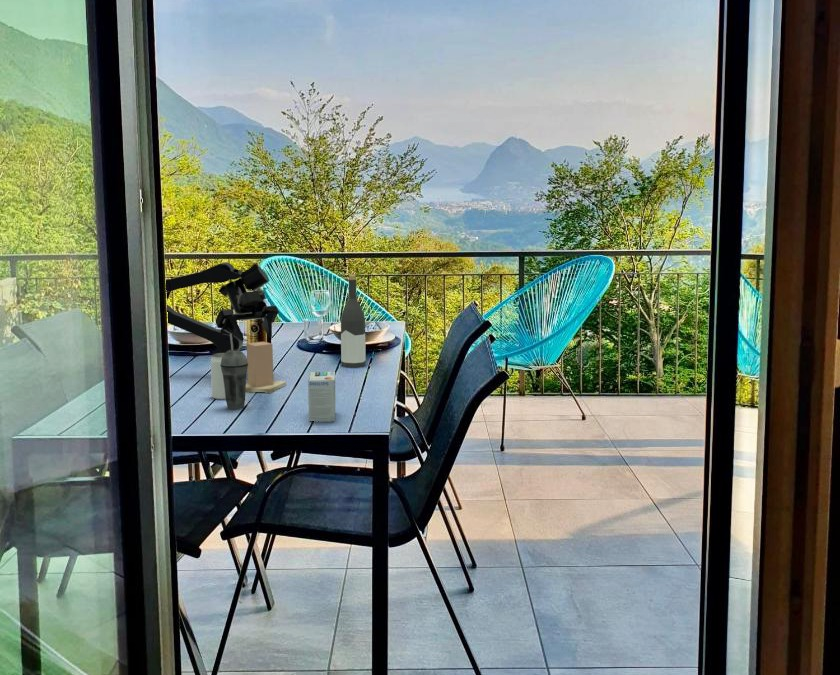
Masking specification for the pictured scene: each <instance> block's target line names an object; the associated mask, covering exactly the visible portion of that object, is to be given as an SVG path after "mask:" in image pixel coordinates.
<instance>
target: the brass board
mask: <svg viewBox="0 0 840 675" xmlns="http://www.w3.org/2000/svg"><path fill="white" fill-rule="evenodd" d="M273 381H274V385H268V386H261V387H255V386H252V385H249V384H248V381H246V392H245V393H255V392H265V393H264V394H272V393H274V392H276V391H278V390H279V388H280V389H282V388H283V386H284V387H285V385H286V386H287V381H283V380H282V381H281V380H273ZM281 387H282V388H281ZM277 389H278V390H277ZM275 390H276V391H275ZM273 391H274V392H273ZM271 392H272V393H271Z"/></svg>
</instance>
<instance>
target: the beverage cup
mask: <svg viewBox="0 0 840 675" xmlns="http://www.w3.org/2000/svg"><path fill="white" fill-rule="evenodd" d="M230 341H231V350H229V351H227V352H226V353H225V354H224V355H223V357H222V359H221V365H220V366H221V370H222V373H223V380H224V388H225V396H226V399H225V403H226V408H227V409H228V410H240V408H242V409H244V408H245V404H246V393H247V392H246V382H247V368H248V361H247V355H246V354H245V353H244V352H243V351H241V350H240V349H239V350H236V349H233V341H232V334H230Z"/></svg>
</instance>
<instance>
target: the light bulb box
mask: <svg viewBox="0 0 840 675" xmlns="http://www.w3.org/2000/svg"><path fill="white" fill-rule="evenodd" d="M307 381H308V384H307V388H308V393H307V394H308V397H307V398H308V422H309V423H311V422H310V421H314V422H313V423H323V422H324V423H331V422H332V421H334V422H335V420H336V372H335V371H311V372H309V377H308V380H307ZM315 421H316V422H315ZM318 421H319V422H318ZM332 423H333V422H332Z"/></svg>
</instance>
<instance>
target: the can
mask: <svg viewBox="0 0 840 675" xmlns="http://www.w3.org/2000/svg"><path fill="white" fill-rule="evenodd" d="M224 354H225V353H218V354H214V353H213V354H211V359H210V379H211V380H210V381H211V382H210V384H211V397H212V398H213V399H214V400H226V396H225V388H224V380H223V373H222V370H221V366H220V365H221V359H222V357H223V355H224Z"/></svg>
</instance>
